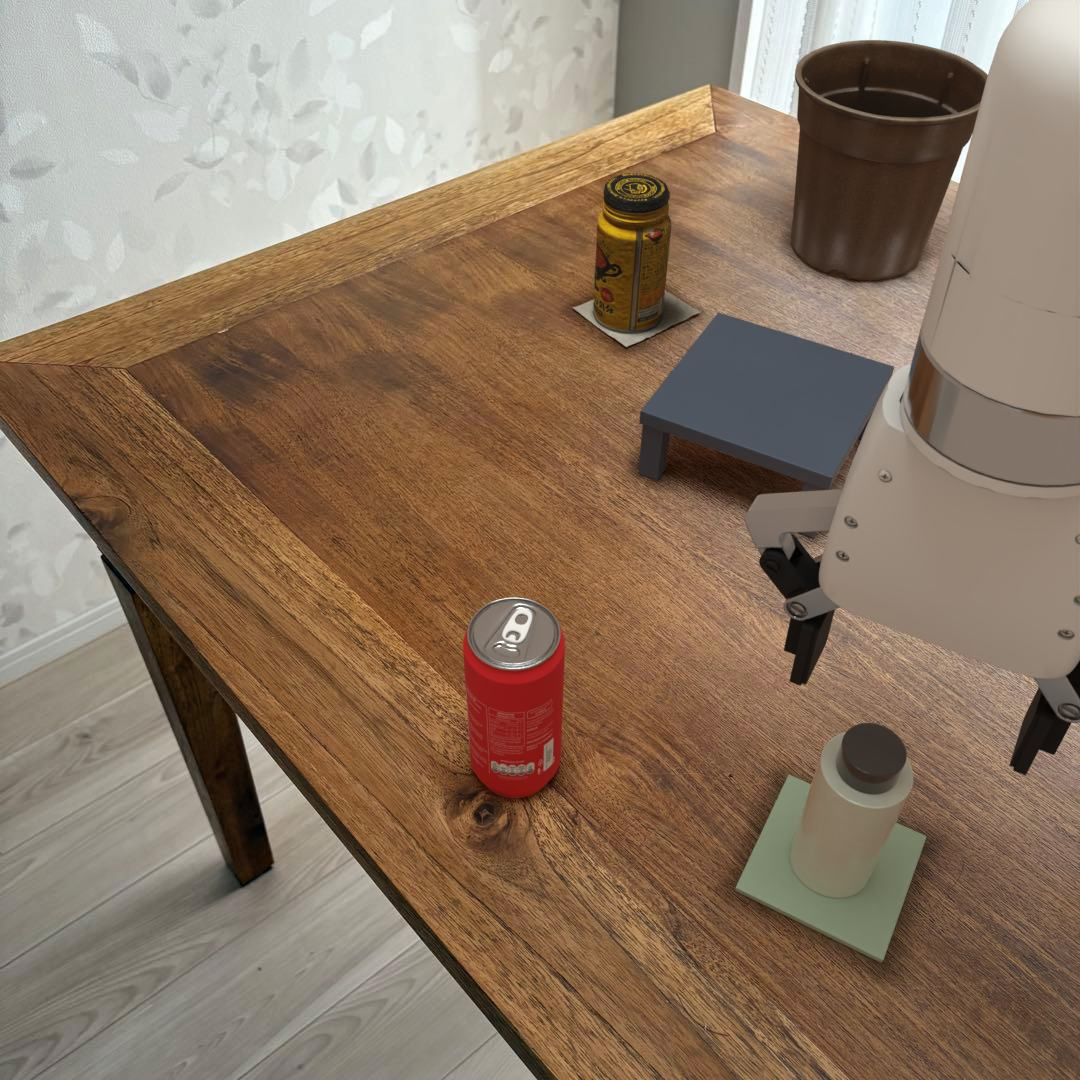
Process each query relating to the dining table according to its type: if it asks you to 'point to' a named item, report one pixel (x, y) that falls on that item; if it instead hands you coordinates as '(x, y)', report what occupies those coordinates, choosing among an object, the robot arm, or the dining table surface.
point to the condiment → (633, 262)
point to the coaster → (844, 920)
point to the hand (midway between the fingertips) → (912, 703)
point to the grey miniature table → (764, 402)
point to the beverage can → (514, 695)
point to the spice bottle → (851, 810)
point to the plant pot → (877, 151)
